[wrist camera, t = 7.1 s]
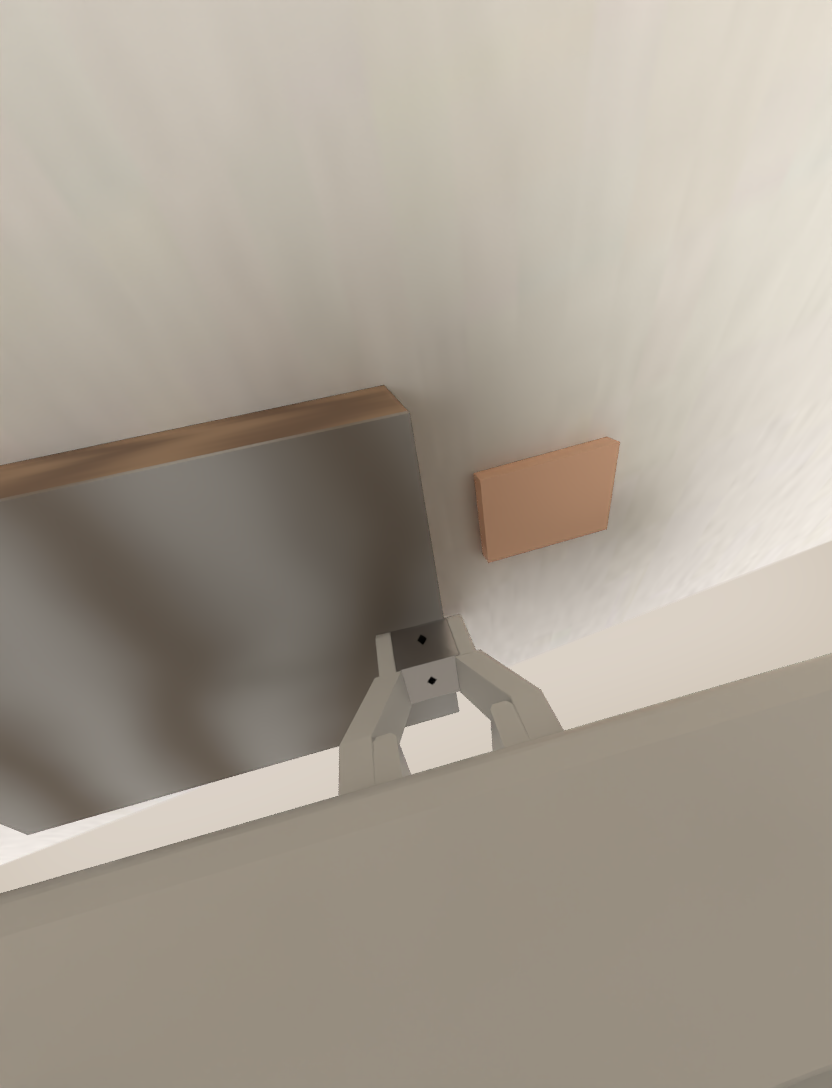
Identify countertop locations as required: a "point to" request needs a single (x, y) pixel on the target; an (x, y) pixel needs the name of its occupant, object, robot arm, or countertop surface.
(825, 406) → the countertop surface
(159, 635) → the board
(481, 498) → the tile
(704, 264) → the countertop surface
